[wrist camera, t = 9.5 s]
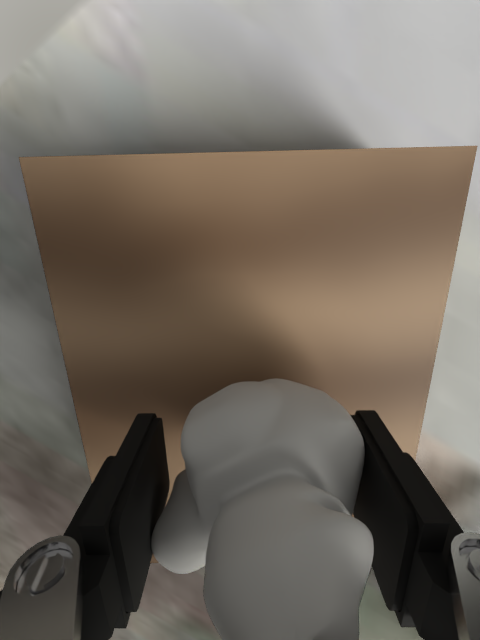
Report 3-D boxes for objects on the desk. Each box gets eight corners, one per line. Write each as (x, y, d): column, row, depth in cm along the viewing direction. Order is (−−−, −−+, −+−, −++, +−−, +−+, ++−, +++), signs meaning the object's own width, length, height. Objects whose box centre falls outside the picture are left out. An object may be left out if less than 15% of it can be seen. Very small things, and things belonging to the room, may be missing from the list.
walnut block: (354, 466, 21) (395, 560, 16) (144, 469, 21) (109, 563, 16) (390, 169, 15) (477, 145, 10) (100, 176, 16) (18, 157, 10)
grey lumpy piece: (368, 437, 12) (601, 852, 4) (219, 511, 13) (190, 939, 5) (293, 320, 10) (441, 631, 3) (133, 416, 11) (-75, 817, 4)
